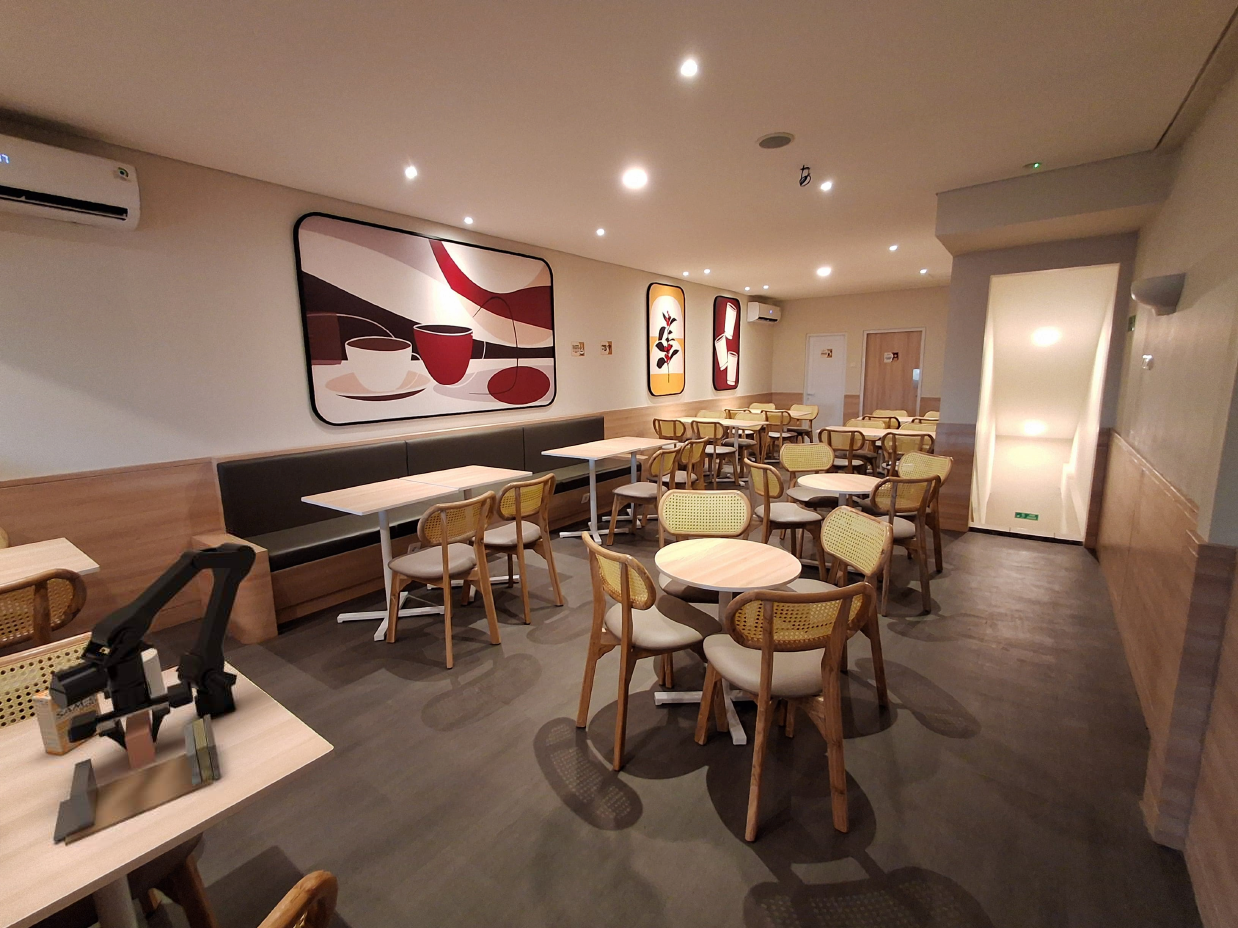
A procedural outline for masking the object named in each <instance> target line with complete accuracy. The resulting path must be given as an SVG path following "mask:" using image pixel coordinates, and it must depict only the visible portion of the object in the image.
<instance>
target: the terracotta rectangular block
mask: <svg viewBox="0 0 1238 928" xmlns="http://www.w3.org/2000/svg"><path fill="white" fill-rule="evenodd" d="M124 730H125V742H126V747H127V751H128V752H127V751H126V752H127V754H128V758H129V764H130V767H131V771H135V770H138V769H141V768H143V767H146V766H148V765H151V764H153V763H156V757H157V755H156V742H155V743H154V742H153V739H152V716H151V714H150V710H147V711H144V712H141V713H138V714H134V715H130V716H127V717H125V729H124Z"/></svg>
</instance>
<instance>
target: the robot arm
mask: <svg viewBox="0 0 1238 928" xmlns="http://www.w3.org/2000/svg"><path fill="white" fill-rule="evenodd" d="M256 559H257V552H256V551H255V549H254V548H253V547H252V546H250V545H247V544H242V543H241V544H240V543H235V542H223V543H221V544H220V545H218V546H214V547H205V548H200V549H195V550H194V549H190V550H187V551H184V552H182V554H181V555H180V557H179V559H178V560H177V561H176V562H174V563H172V565H171V566H170V567H169V568H168V569H166V571H164V572H163V574H162V575H160V576H159V577H158V578H157V579H156V580H155V581H154V582H152V583H151V584H150V585H149V586H148V587H147V588H146V589H145V590H144V591H143V592H142V593H141V594H140V595H138V596H137V597H136V599H134V600H133V601H131V602H130V603H128V604H126V605H125V606H122V607H120V608H117V609H116V610H114V611H112V612H111V613H109V614H108V615H106V616H105V617H104V618H102V619H101V620H99V621H98V622H97V623H96V624H95V625H94V626H93V627H92V628H91V631H90V633H91V634H90V635H91V636H90V639H89V641H88V642H87V644H86V646H85V648H84V649H83V651H82V653H81V655H80V656H79V659H80V660H81V661H83V662H79V663H78V664H75V665H73V666H70V667H68V668H64V669H61V670H58V671H55V672H53V673H52V674H51V677H52V680H51V681H50V682H49V688H48V689H47V690H49V694H50V696H51V698H52V700H53V702H54V703H55V704H56V706H58V707H59V708H60V709H65V708H68V707H70V706H72V705H74V704H76V703H78V702H80V701H82V700H85V699H87V698H89V697H91V696H93V695H95V694H97V695H98V694H99V693H102V692H103V698H104V700H105V701H106V700H111V704H112V709H113V710H110V711H107V712H104V713H101V715H98V711H97V709H96V710H92V711H89V712H86V713H83V714H80V715H77V716H73V717H72V719H71V720H70V721H69V726H68V731H67V733H68V739H69V742H70V743H75V742H78V741H81V740H84V739H87V738H89V739H91V738H92V737H94V736H95V735H94V734H95V733H96V732H97V729H99V733H98V738H104V737H106V738H109V739H111V741H113V742H116V743H117V744H118V745H119V746H120V747H121V748H123V750H125V751H126V752H127V753H128V751H127V747H126V742H125V730H126V729H125V728H124V727H123V722H122V719H123V718H126V717H129V716H132V715H133V714H134V715H135V714H136V713H139V712H142V711H145V710H148V709H151V708H152V709H151V722H152V739H153V742H154V743H155V744H156V743H157V739H158V736H159V732H160V728H161V725H162V723H163V721H164V719H165V717H166V716H168V715H170V714H171V713H172V712H171V711H172V710H171V708H172V709H178V708H181V707H184V706H187V705H190V704H192V703H193V702H194V706H195V711H196V715H197V718H200V719H203V722H204V723H205V721H204V716H205V715H208V714H210V718H211V720H213V719H216V718H219V717H221V716H222V717H223V716H224V715H226V714H230V713H232V712H235V711H236V710H237V706H236V702H235V699H234V695H233V689H232V687H234V686H235V685H236V684H237V678H238V675H237V674H235V673H231V672H228V671H225V667H226V666H225V665H226V664H225V663H226V660H225V659H226V658H225V654H224V650H223V644H224V640H225V637H226V634H227V630H228V627H229V624H230V623H229V622H230V619H231V616H232V612H233V608H234V606H235V605H234V604H235V601H236V597H237V594H238V591H239V587H240V585H241V583H242V582H243V580H244V579H245V578H246V577H248V575H249V574H250V573H251V571H252V568H253V567H254V564H255V562H256ZM209 569H211V572H212V576H213V579H214V580H213V586H212V589H211V590H210V591H211V593H210V596H209V598H208V602H207V605H206V609H205V613H204V616H203V619H202V623H201V626H200V630H199V634H198V636H197V640H196V643H195V645H194V647H192V648H191V649H190V651H189V652H182V653H180V654H181V655H180V657H179V663H178V666H177V667H176V669H175V670H174V671H175V673H177V680H178V681H179V682H177V683H175V684H172V685H169V686H166V693H163V694H160V695H156V696H154V697H152V698H151V695H152V691H151V687H150V682H149V681H148V680H147V675H146V672H145V667H144V662H143V658H142V652H144V651H146V650H149V649H151V648H152V649H154V646H155V645H154V644H153V643H150V642H146V641H144V640H143V638H144V637H145V635H146V634H147V633H148V631H150V629H151V626H152V625H153V621H154V618H156V615H158V614H159V612H160V611H161V610H162V609H163V608H164V607H166V605H167V604H169V603H171V601H172V600H173V599H174V597H176V596H177V595H178V594H180V592H181V591H183V589H184V588H185V587H187V586H188V585H189V583H190V582H192V580H193V579H194V578H195V577H197V576H198V575H199V574H200V573H201V572H202V571H203V570H209ZM103 648H104V649H107V650H108V651H107V652H103V651H101V650H102V649H103ZM193 689H194V690H195V691H196V692H195V693H196V694H195V695H194V694H193ZM96 726H97V728H96ZM93 735H94V736H93ZM90 737H91V738H90ZM87 740H88V739H87Z"/></svg>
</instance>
